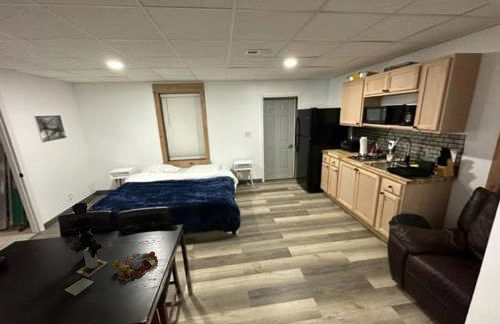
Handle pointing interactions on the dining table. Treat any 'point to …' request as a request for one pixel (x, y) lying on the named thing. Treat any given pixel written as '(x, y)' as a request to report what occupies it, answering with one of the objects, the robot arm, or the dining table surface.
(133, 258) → the candy landscape model
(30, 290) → the dining table surface
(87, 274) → the frame
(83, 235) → the robot arm
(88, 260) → the skincare box
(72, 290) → the ceramic coaster
